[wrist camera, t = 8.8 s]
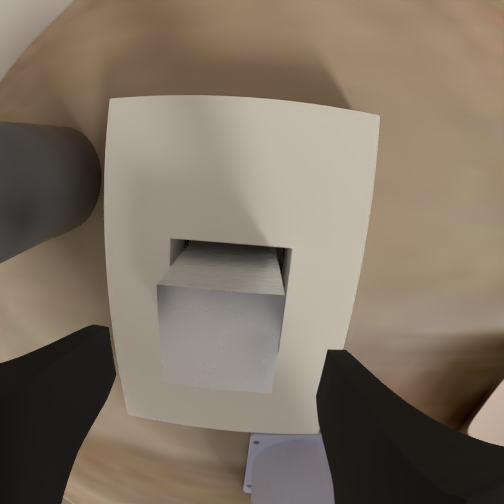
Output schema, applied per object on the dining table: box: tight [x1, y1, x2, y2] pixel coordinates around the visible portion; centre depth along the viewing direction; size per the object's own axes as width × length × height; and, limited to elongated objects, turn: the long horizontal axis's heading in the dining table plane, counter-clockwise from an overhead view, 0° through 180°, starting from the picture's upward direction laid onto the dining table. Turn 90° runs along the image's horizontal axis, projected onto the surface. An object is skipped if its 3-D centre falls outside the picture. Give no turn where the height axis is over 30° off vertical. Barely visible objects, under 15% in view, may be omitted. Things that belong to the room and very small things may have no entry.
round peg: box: [0, 122, 101, 263], centre depth 13 cm, size 6×6×7 cm
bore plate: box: [104, 95, 380, 434], centre depth 16 cm, size 18×12×3 cm, turn 175°
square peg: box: [157, 240, 285, 393], centre depth 14 cm, size 4×4×7 cm
